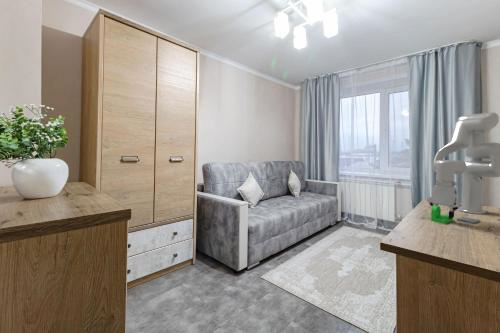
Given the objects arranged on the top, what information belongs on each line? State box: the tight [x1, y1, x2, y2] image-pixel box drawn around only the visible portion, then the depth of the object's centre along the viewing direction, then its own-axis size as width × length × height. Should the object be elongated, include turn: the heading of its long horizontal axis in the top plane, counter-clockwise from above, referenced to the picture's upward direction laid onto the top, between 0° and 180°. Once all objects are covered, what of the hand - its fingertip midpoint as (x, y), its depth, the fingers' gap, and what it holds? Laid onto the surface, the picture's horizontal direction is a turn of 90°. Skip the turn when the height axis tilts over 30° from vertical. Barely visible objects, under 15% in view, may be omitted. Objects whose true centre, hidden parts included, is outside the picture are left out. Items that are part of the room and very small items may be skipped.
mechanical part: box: [430, 205, 454, 225], centre depth 124 cm, size 12×6×8 cm, turn 119°
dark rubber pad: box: [456, 216, 481, 225], centre depth 123 cm, size 8×7×1 cm
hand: (442, 216), depth 124 cm, fingers closed on mechanical part, 6 cm apart
